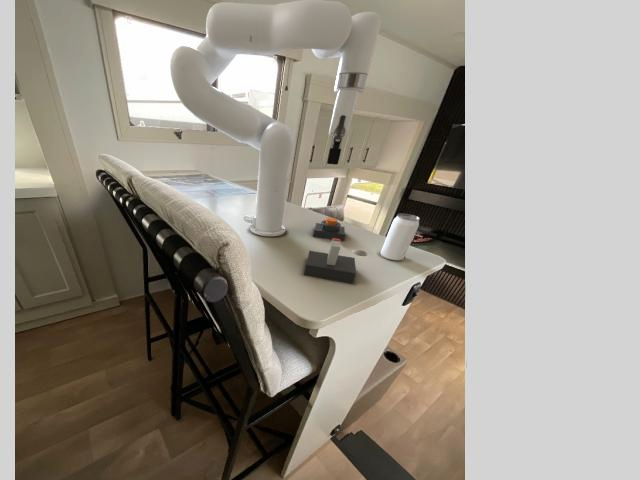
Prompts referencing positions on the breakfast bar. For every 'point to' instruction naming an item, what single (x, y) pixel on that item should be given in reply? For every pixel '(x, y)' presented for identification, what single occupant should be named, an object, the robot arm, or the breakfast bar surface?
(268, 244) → the breakfast bar surface
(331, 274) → the panel
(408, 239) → the can
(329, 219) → the button
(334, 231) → the button block
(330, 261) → the timer knob
